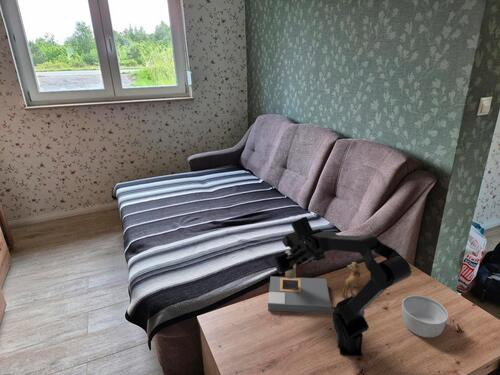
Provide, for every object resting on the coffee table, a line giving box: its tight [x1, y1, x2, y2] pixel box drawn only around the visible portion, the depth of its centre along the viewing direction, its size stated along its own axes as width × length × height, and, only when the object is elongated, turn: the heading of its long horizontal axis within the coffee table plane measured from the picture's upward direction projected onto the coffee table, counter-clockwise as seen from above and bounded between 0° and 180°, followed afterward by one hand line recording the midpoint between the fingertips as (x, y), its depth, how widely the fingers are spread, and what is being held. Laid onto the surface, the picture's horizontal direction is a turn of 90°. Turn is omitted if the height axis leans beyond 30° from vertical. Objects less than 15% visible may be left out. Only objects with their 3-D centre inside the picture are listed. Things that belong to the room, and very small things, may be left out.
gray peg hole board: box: [267, 276, 332, 315], centre depth 116 cm, size 22×16×3 cm
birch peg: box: [284, 249, 297, 279], centre depth 116 cm, size 4×4×10 cm
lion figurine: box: [341, 261, 361, 299], centre depth 118 cm, size 15×5×9 cm, turn 154°
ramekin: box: [401, 294, 449, 339], centre depth 100 cm, size 13×13×7 cm
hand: (288, 263), depth 117 cm, fingers closed on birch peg, 4 cm apart
